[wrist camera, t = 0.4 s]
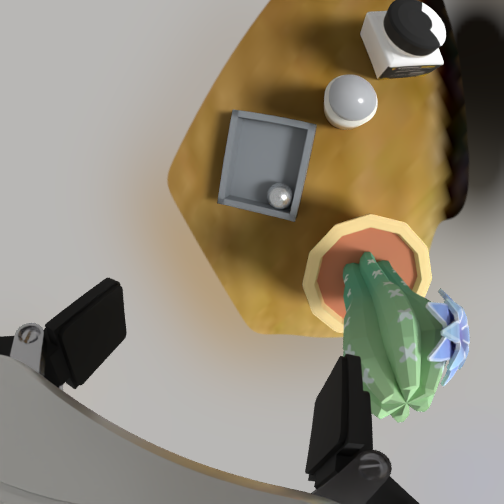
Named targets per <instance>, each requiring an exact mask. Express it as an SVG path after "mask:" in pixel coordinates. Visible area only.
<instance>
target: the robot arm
mask: <svg viewBox="0 0 504 504" xmlns="http://www.w3.org/2000/svg"><path fill="white" fill-rule="evenodd" d="M45 327H46V328H45V329H44V330H43V329H42V327H41V326H40V325H38V324H36V323H28V324H25V325H22V326H21V327H19V329H18V330H17V331H16V333H15V336H4V337H0V504H419V503H418V502H417V501H416V500H415V499H414V498H413V497H412V496H410V495H409V494H408V493H407V492H406V491H405V490H404V489H403V488H402V487H401V486H400V485H399V484H398V483H396V482H395V481H394V480H393V479H392V478H391V477H390V474H391V470H392V468H391V463H390V460H389V458H388V457H387V456H386V455H385V454H383V453H381V452H380V451H377V450H373V438H372V415H371V399H370V393H369V392H368V391H363V379H362V366H361V358H360V356H355V355H351V354H346V355H345V356H344V357H343V356H340V357H339V359H338V361H337V363H336V365H335V366H334V368H333V370H332V372H331V374H330V376H329V377H328V379H327V381H326V383H325V385H324V386H323V388H322V390H321V392H320V393H319V395H318V396H317V399H316V402H315V407H314V416H313V423H312V431H311V438H310V445H309V452H308V458H307V465H306V470H305V472H306V473H307V474H309V478H308V480H309V481H315V486H314V487H315V488H316V490H315V491H313V492H312V493H307V492H303V491H298V490H294V489H289V488H285V487H281V486H276V485H272V484H267V483H263V482H259V481H255V480H251V479H248V478H244V477H241V476H237V475H234V474H230V473H227V472H224V471H221V470H218V469H215V468H211V467H209V466H206V465H203V464H200V463H197V462H195V461H192V460H189V459H187V458H184V457H182V456H179V455H177V454H175V453H172V452H170V451H168V450H165V449H163V448H161V447H158V446H156V445H154V444H152V443H150V442H148V441H146V440H144V439H141V438H140V437H138V436H136V435H134V434H132V433H130V432H128V431H126V430H124V429H122V428H121V427H119V426H117V425H115V424H114V423H112V422H110V421H108V420H107V419H105V418H103V417H101V416H100V415H98V414H97V413H95V412H93V411H92V410H90V409H88V408H87V407H85V406H84V405H82V404H81V403H79V402H78V401H76V400H75V399H73V398H72V397H71V396H69V395H68V394H66V393H65V392H64V391H63V384H64V383H65V382H66V383H67V384H68V385H70V386H71V387H72V388H74V389H76V388H77V387H78V386H79V385H82V384H84V382H85V381H86V380H87V379H88V378H89V377H90V376H91V375H92V374H93V373H94V371H95V370H96V369H97V368H98V367H99V366H100V365H101V364H102V363H103V362H104V360H105V359H106V358H107V357H108V356H109V355H110V354H111V353H112V352H113V351H114V350H115V349H116V348H117V346H118V345H119V344H120V343H121V342H122V341H123V340H124V339H125V337H126V324H125V313H124V302H123V289H122V287H121V286H120V283H119V282H118V281H115V280H113V279H110V278H106V279H104V280H103V281H102V282H100V283H99V284H98V285H96V286H95V287H93V288H92V289H91V290H89V291H88V292H87V293H85V294H84V295H83V296H81V297H80V298H79V299H77V300H76V301H75V302H73V303H72V304H71V305H70V306H68V307H67V308H65V309H64V310H63V311H62V312H60V313H59V314H58V315H56V316H55V317H54V318H53V319H51V320H50V321H49V322H48V323H47V324H45Z"/></svg>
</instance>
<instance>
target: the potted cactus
mask: <svg viewBox="0 0 504 504" xmlns="http://www.w3.org/2000/svg"><path fill="white" fill-rule="evenodd" d="M431 280H432V275H431V267H430V259H429V253H428V247H427V246H426V245H425V244H424V243H423V241H422V240H421V239H420V238H419V237H418V236H417V235H416V234H415V232H414V231H413V230H412V229H411V228H410V227H409V226H408V225H407V224H406V223H404V222H401V221H397V220H393V219H389V218H385V217H381V216H377V215H372V214H367V215H363V216H360V217H357V218H354V219H351V220H347V221H344V222H341V223H338V224H335V226H334V227H333V228H332V229H331V230H330V231H329V232H328V233H327V234H326V235H325V236H324V237H323V238H322V239H321V241H320V242H319V243H318V244H317V245H316V246H315V247H314V248H313V249H312V250H311V251H310V252H309V257H308V261H307V266H306V270H305V275H304V279H303V283H302V286H303V289H304V291H305V294H306V297H307V300H308V302H309V305H310V308H311V311H312V313H313V314H314V315H315V316H316V317H318V318H319V319H320V320H321V321H323V322H324V323H325V324H326V325H328V326H329V327H330V328H332V329H333V330H334V331H335V332H339V333H344V337H343V349H344V354H343V357H344V356H345V355H346V354H351V355H355V356H360V358H361V366H362V379H363V391H368V392H369V393H370V399H371V413H372V414H374V415H375V416H376V417H378V418H379V419H382V418H384V417H386V416H388V415H391V416H392V417H393V418H394V419H395V420H396V421H397V422H403V421H404V420H405V419H406V418H407V417H408V416H409V406H410V407H412V408H413V409H414V410H416V411H422V412H425V411H426V410H427V409H428V408H429V407H430V404H431V402H432V399H433V397H434V394H435V392H436V390H437V387H438V384H439V382H440V379H441V376H442V373H443V370H444V367H445V364H446V361H447V360H449V364H448V366H447V369H448V370H447V372H446V375H445V377H444V378H443V380H442V382H441V385H442V386H445V385H446V384H447V382H448V381H449V380H450V379H451V378H452V377H453V376H454V374H455V372H456V371H457V369H460V368H461V367H462V366H463V364H464V362H465V360H466V358H467V355H468V352H469V346H468V344H469V343H470V340H469V326H468V325H467V317H466V314H465V312H464V309H463V308H462V307H461V306H460V305H458V304H457V303H455V302H454V301H453V300H452V299H451V298H450V297H449V296H448V295H447V294H446V293H445V292H444V291H443V290H442V289H439V291H438V292H439V293H440V295H441V296H442V297H443V298H444V299H445V301H444V303H435V302H431V301H429V300H427V299H426V298H424V297H425V295H426V293H427V290H428V288H429V285H430V282H431Z"/></svg>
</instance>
